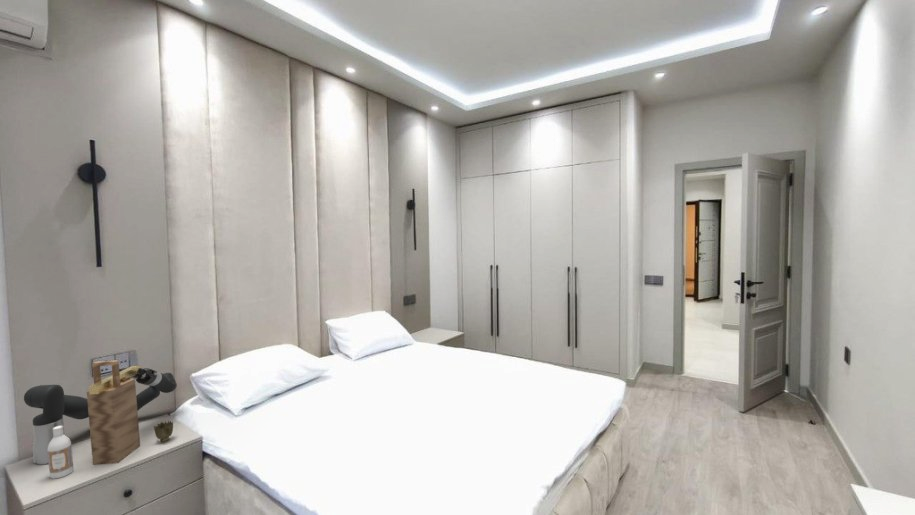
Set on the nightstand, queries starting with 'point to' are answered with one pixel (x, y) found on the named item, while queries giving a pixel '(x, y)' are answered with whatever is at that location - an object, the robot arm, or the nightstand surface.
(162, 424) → the cup
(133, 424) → the walnut stand
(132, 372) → the gold square bar
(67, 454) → the bath foam
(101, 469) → the nightstand surface
